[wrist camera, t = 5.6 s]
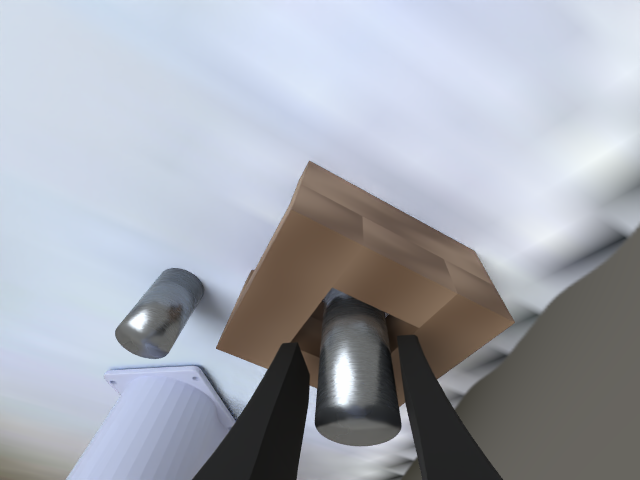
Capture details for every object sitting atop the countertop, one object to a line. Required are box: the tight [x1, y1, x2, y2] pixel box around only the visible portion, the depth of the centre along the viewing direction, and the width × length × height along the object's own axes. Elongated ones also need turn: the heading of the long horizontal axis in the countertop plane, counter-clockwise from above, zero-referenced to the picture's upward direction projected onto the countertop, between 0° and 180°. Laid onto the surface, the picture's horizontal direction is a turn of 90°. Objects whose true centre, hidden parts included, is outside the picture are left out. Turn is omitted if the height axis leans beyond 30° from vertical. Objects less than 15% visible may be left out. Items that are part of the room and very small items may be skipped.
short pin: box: [115, 268, 204, 359], centre depth 16 cm, size 3×3×4 cm
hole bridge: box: [216, 161, 515, 407], centre depth 14 cm, size 9×8×4 cm
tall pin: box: [315, 288, 401, 446], centre depth 13 cm, size 3×3×8 cm
